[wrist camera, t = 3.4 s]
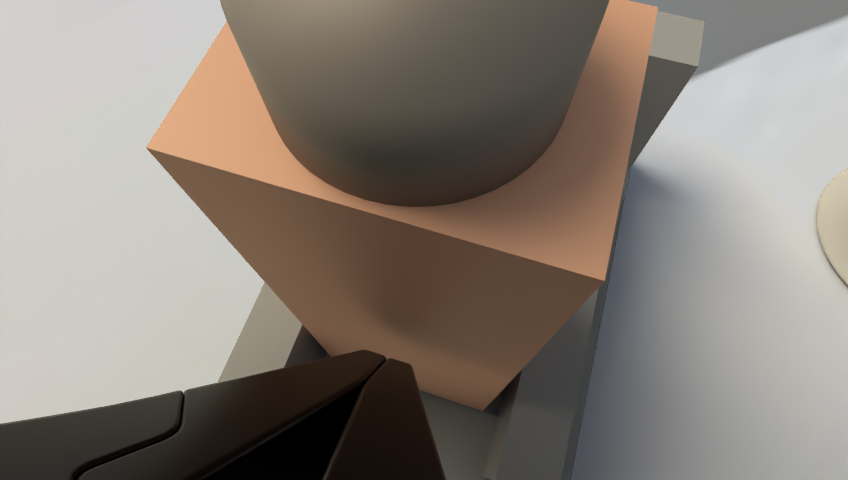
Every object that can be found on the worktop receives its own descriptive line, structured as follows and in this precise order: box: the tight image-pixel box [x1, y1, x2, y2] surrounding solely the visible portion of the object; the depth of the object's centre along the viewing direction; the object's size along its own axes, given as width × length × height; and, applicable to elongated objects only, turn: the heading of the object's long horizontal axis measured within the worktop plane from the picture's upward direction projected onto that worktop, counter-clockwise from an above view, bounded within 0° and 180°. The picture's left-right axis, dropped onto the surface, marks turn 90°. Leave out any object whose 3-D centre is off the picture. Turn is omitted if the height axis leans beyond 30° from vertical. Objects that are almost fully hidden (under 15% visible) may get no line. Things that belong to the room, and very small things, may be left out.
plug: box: [146, 0, 658, 411], centre depth 9 cm, size 3×4×11 cm
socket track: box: [218, 11, 704, 480], centre depth 14 cm, size 12×9×6 cm
